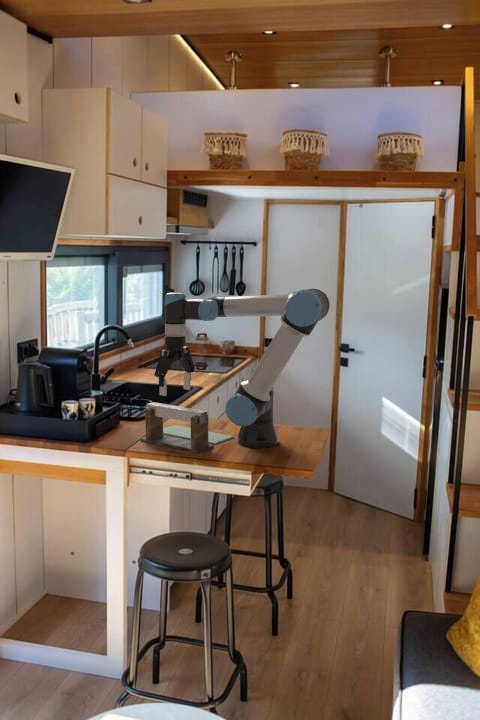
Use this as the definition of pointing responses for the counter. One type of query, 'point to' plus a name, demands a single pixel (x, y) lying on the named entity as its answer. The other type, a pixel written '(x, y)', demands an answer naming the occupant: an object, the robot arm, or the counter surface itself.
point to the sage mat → (186, 433)
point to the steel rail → (177, 412)
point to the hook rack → (194, 445)
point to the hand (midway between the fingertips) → (175, 392)
